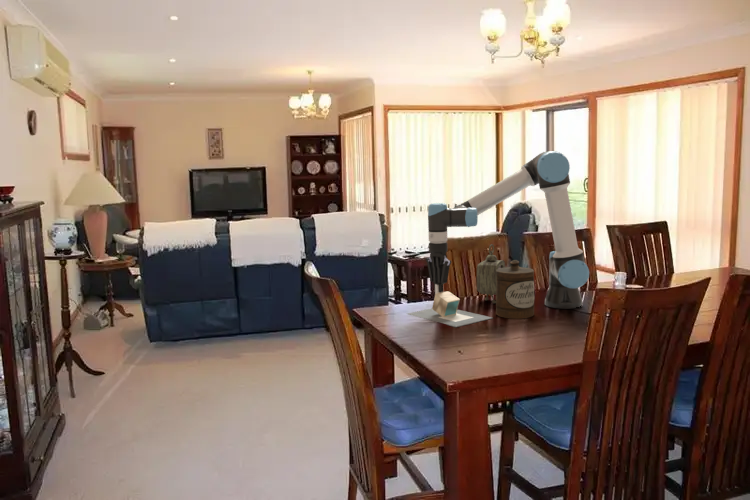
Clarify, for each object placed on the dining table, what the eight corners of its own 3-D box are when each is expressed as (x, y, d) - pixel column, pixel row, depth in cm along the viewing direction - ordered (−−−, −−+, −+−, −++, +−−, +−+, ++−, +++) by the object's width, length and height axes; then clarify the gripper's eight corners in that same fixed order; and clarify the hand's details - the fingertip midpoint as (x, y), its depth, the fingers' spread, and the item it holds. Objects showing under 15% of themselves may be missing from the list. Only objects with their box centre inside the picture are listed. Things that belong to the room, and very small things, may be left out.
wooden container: (512, 320, 251) (512, 264, 248) (488, 313, 264) (488, 259, 261) (542, 315, 258) (542, 260, 255) (517, 308, 271) (517, 256, 268)
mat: (492, 318, 256) (492, 317, 256) (455, 327, 244) (455, 326, 244) (442, 306, 278) (442, 306, 278) (406, 314, 266) (406, 313, 266)
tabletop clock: (496, 305, 279) (496, 246, 275) (476, 303, 283) (475, 246, 279) (505, 298, 292) (505, 242, 288) (485, 296, 295) (485, 242, 292)
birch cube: (444, 306, 268) (456, 314, 263) (431, 308, 263) (443, 317, 258) (448, 291, 265) (460, 299, 260) (435, 293, 261) (447, 301, 256)
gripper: (420, 241, 265) (421, 298, 268) (442, 244, 254) (443, 303, 257) (434, 239, 269) (435, 296, 272) (456, 242, 259) (456, 300, 262)
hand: (439, 299), depth 265 cm, fingers closed
